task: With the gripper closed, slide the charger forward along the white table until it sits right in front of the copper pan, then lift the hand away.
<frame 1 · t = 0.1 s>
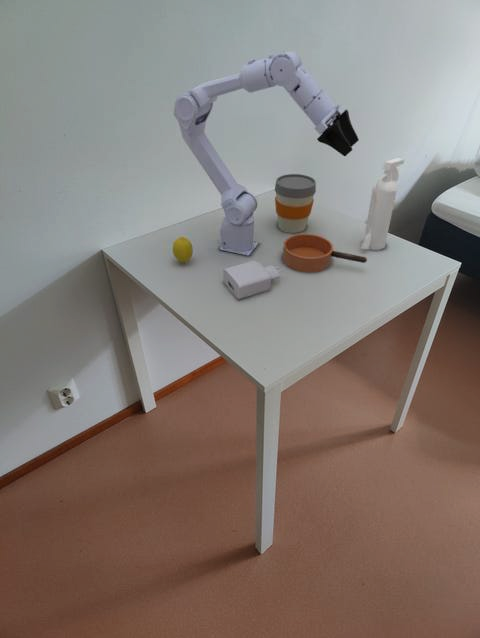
hand: (352, 148, 93), 32 cm above the table, tool tilted 50°, fingers open, 7 cm apart
white spray bottle: (371, 246, 123), on the table
charger: (256, 284, 108), on the table
pan: (306, 259, 117), on the table
pan handle: (347, 256, 111), point 3 cm above the table
reusable coffee cup: (291, 226, 133), on the table
lemon: (184, 262, 116), on the table
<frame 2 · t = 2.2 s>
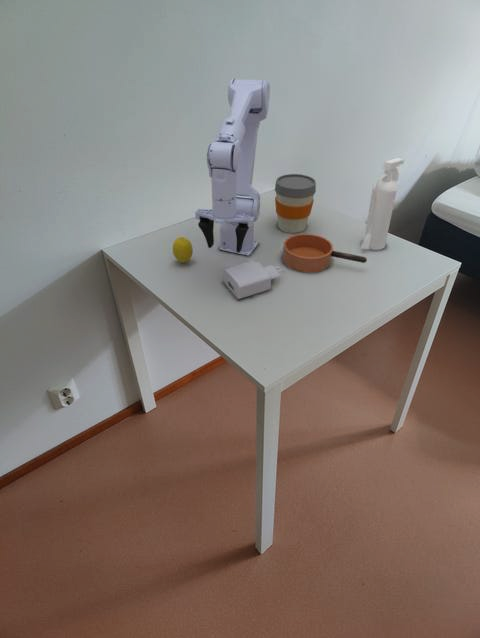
hand: (224, 248, 103), 9 cm above the table, tool pointing down, fingers open, 7 cm apart
nothing on the table moved.
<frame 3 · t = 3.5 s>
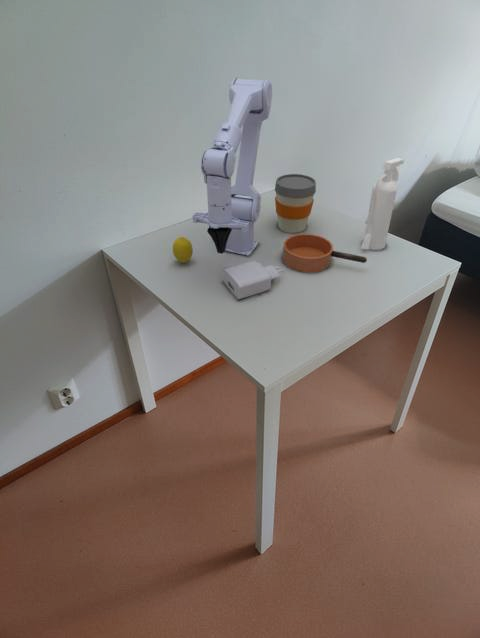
hand: (221, 251, 106), 8 cm above the table, tool pointing down, fingers closed
nothing on the table moved.
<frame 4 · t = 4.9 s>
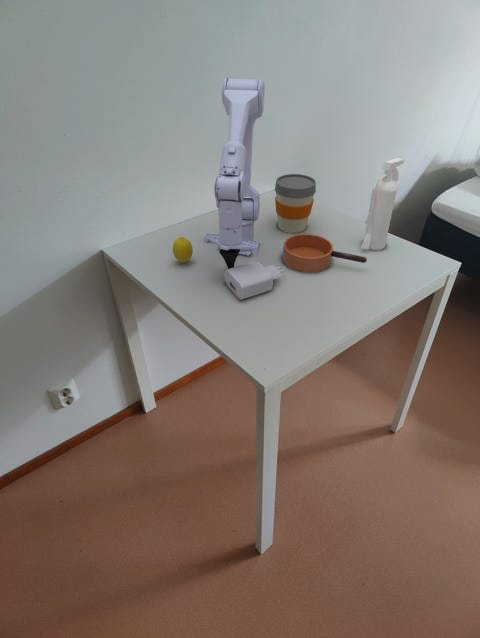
hand: (231, 270, 108), 2 cm above the table, tool pointing down, fingers closed
charger: (258, 284, 107), on the table, touching gripper
everything else where it was.
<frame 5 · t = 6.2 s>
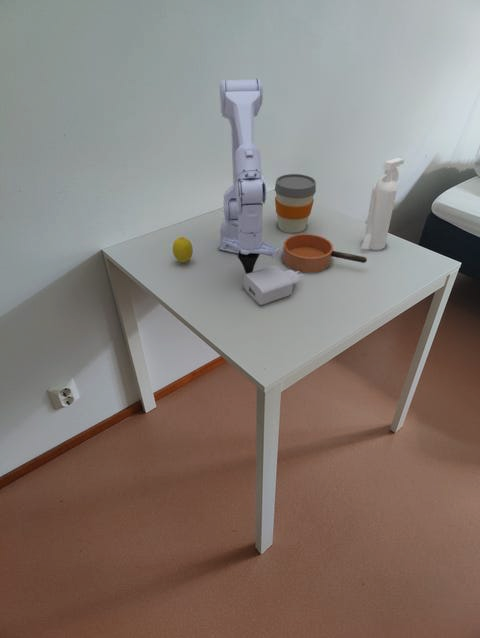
hand: (249, 275, 107), 2 cm above the table, tool pointing down, fingers closed
charger: (276, 289, 106), on the table, touching gripper
everything else where it was.
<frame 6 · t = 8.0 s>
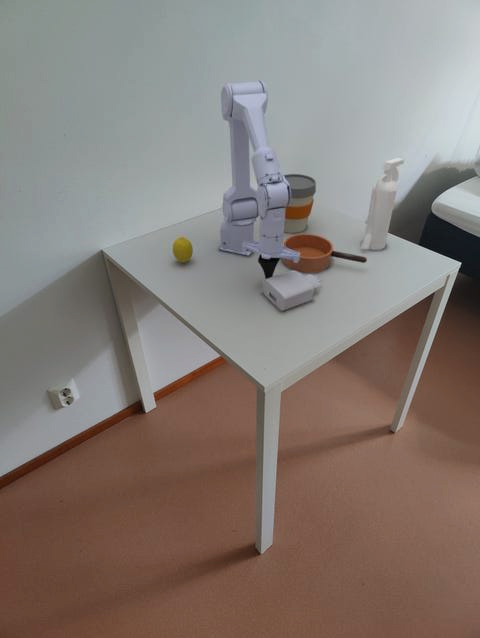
hand: (269, 279, 105), 2 cm above the table, tool pointing down, fingers closed
charger: (296, 294, 104), on the table, touching gripper
everything else where it was.
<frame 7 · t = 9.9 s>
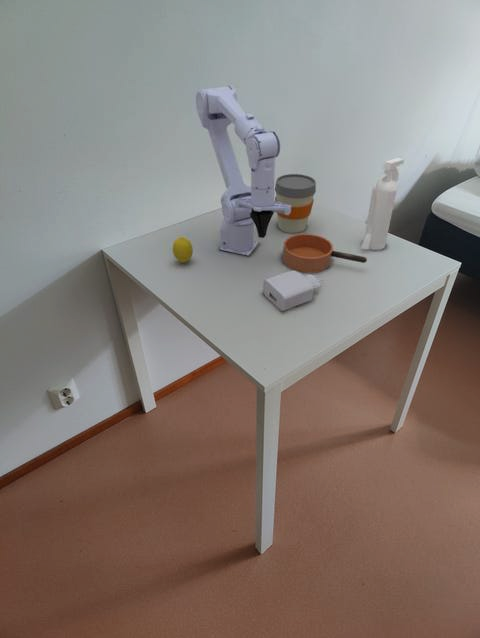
hand: (262, 236, 108), 9 cm above the table, tool pointing down, fingers closed
charger: (296, 294, 104), on the table
everything else where it was.
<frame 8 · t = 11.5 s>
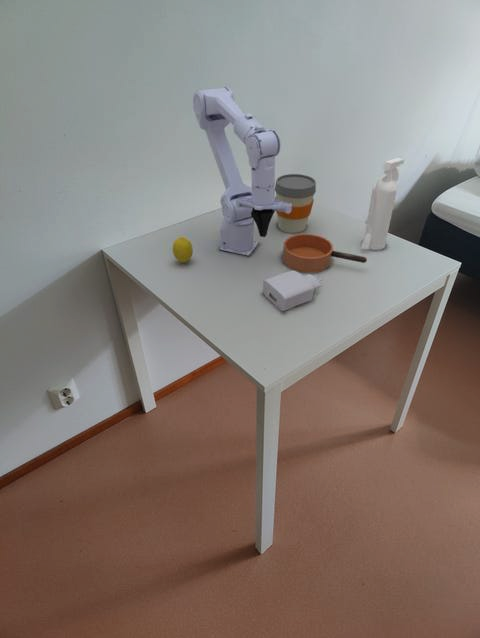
hand: (263, 235, 108), 9 cm above the table, tool pointing down, fingers closed
nothing on the table moved.
at the end: charger inside the target area on the table beside the pan (2.4 cm from its centre), on the table; charger moved 11.2 cm from its start; charger tilted 0° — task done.
